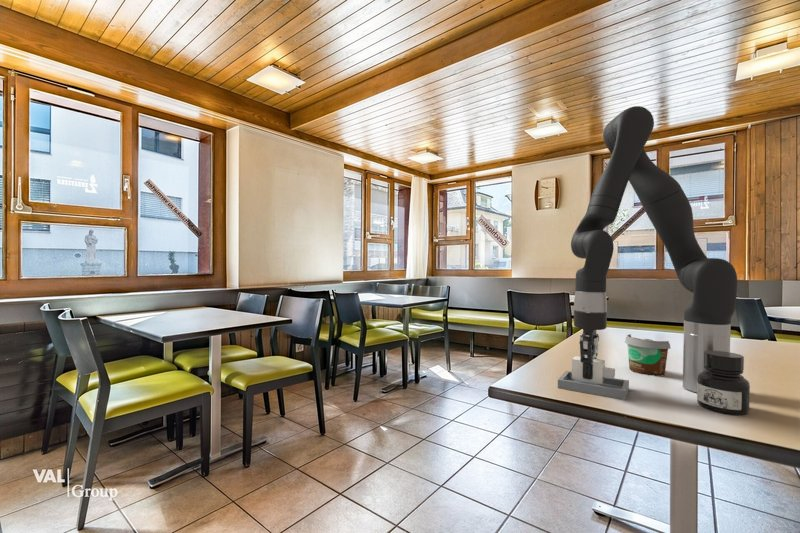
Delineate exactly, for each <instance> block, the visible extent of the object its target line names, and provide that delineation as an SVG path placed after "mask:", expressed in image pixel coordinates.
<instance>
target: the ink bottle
mask: <svg viewBox="0 0 800 533" xmlns="http://www.w3.org/2000/svg"><path fill="white" fill-rule="evenodd" d="M744 363H745V356H744V355H741V354H739V353H736V352H731V351H730V352H724V351H704V368H705V369H706V370H704V371H703V372H701V373H700V374H699V375H698V381H697V392H696V402H697V404H698V405H699V406H701V407H703V408H705V409H708V410H711V411H714V412H719V413H722V414H727V415H736V416H737V415H746V414H748V413H749V412H750V400H751V399H750V395H751V394H750V393H751V391H750V390H751V385H750V381H749V380H747V379H746V378H745V377H744V376H743V373H744V366H745V364H744Z"/></svg>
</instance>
